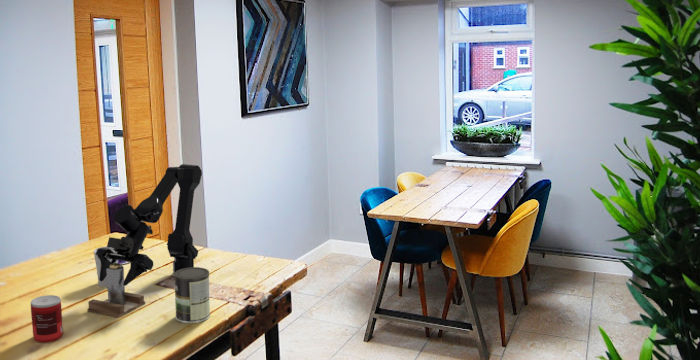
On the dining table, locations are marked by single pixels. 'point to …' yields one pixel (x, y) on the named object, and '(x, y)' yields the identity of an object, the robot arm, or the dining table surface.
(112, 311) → the cradle
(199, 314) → the coffee can
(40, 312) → the canned food
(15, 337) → the dining table surface
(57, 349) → the dining table surface
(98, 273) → the cup
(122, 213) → the robot arm
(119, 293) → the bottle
